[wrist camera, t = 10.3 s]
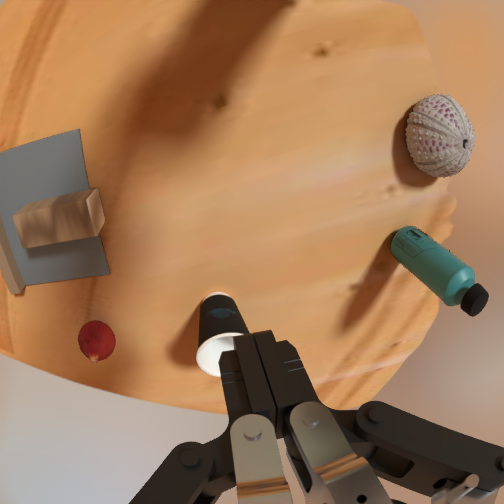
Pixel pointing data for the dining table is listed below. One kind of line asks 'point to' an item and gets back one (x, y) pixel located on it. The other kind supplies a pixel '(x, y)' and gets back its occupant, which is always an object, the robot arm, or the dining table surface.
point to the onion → (96, 340)
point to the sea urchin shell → (439, 136)
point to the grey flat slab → (38, 188)
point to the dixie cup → (217, 330)
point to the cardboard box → (60, 219)
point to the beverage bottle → (439, 270)
